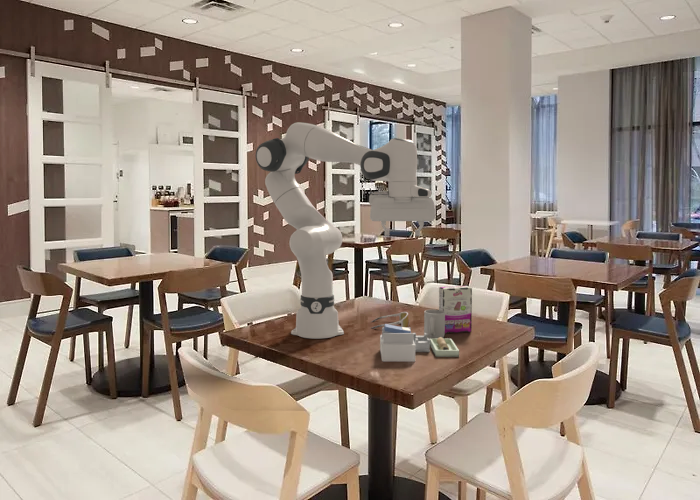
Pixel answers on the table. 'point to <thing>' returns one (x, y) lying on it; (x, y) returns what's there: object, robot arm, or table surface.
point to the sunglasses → (402, 319)
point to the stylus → (442, 344)
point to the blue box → (396, 329)
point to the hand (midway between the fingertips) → (402, 235)
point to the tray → (438, 352)
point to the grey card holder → (397, 346)
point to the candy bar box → (456, 308)
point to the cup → (434, 323)
